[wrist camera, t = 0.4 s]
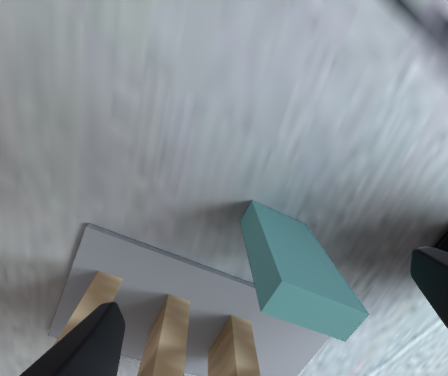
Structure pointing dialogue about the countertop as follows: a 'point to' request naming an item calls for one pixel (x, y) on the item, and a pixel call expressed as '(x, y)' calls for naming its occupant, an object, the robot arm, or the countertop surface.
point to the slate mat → (186, 289)
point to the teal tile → (297, 275)
